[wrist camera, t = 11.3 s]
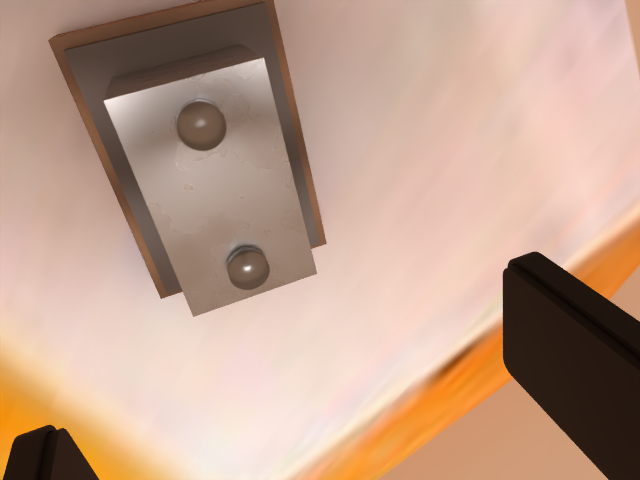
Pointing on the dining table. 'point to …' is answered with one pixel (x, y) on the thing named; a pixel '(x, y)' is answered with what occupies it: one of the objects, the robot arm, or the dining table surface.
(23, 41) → the dining table surface
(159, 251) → the stand
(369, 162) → the dining table surface
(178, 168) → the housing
